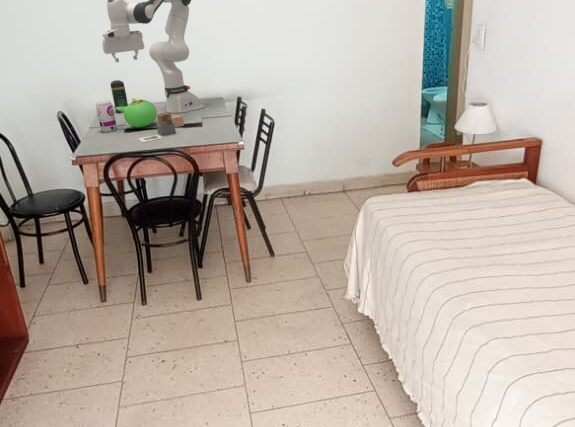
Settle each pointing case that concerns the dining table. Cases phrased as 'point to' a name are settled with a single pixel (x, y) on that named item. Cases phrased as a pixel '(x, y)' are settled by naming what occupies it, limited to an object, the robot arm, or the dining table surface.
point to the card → (150, 138)
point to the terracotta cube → (177, 120)
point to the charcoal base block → (166, 129)
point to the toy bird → (139, 113)
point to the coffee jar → (119, 94)
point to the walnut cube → (164, 119)
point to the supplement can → (106, 116)
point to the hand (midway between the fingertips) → (126, 60)
